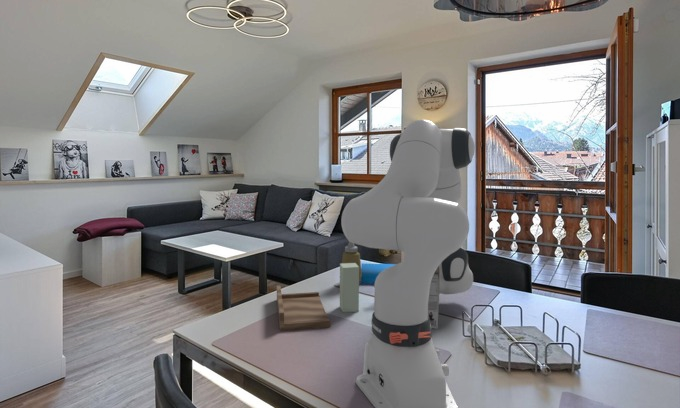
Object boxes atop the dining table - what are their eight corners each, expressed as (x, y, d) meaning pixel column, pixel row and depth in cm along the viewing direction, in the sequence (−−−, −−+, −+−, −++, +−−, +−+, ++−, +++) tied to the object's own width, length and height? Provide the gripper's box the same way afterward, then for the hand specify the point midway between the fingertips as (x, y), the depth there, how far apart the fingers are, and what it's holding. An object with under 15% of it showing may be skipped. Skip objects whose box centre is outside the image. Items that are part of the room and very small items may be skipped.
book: (361, 263, 168) (421, 263, 167) (361, 273, 168) (421, 273, 167) (360, 274, 151) (428, 275, 150) (360, 286, 151) (427, 286, 150)
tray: (330, 326, 112) (330, 309, 112) (279, 330, 110) (279, 313, 109) (318, 297, 137) (318, 282, 136) (276, 299, 134) (276, 285, 133)
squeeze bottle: (348, 280, 156) (348, 234, 154) (365, 283, 151) (366, 236, 149) (336, 285, 149) (336, 237, 147) (354, 289, 145) (354, 240, 143)
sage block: (358, 311, 124) (359, 267, 122) (342, 312, 123) (342, 267, 121) (355, 305, 129) (355, 262, 127) (339, 306, 128) (339, 263, 126)
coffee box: (415, 315, 121) (417, 262, 119) (437, 316, 120) (439, 264, 118) (415, 327, 112) (416, 271, 110) (438, 329, 111) (440, 272, 109)
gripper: (411, 264, 139) (372, 266, 137) (436, 281, 119) (391, 283, 117) (411, 281, 140) (372, 284, 137) (435, 302, 120) (391, 304, 117)
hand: (381, 284), depth 127 cm, fingers open, 8 cm apart
